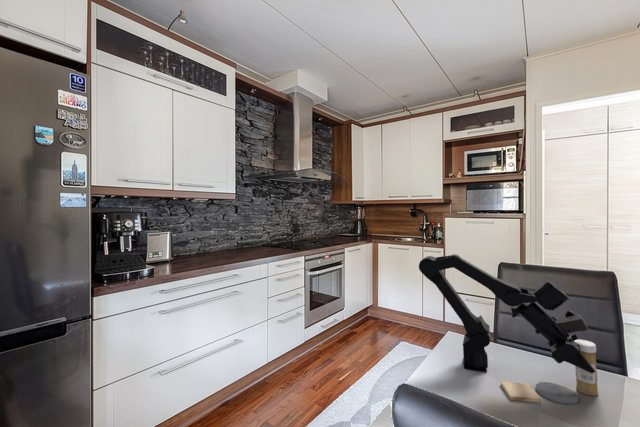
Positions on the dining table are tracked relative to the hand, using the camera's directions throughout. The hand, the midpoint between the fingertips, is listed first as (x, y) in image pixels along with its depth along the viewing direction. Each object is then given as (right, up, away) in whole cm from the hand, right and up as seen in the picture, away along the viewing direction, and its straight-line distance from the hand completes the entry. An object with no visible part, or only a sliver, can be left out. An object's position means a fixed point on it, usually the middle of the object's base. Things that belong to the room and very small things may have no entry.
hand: (592, 368), depth 79 cm
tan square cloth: (-19, -7, +1) cm, 21 cm away
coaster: (-10, -7, 0) cm, 12 cm away
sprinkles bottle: (-1, -7, +1) cm, 7 cm away
